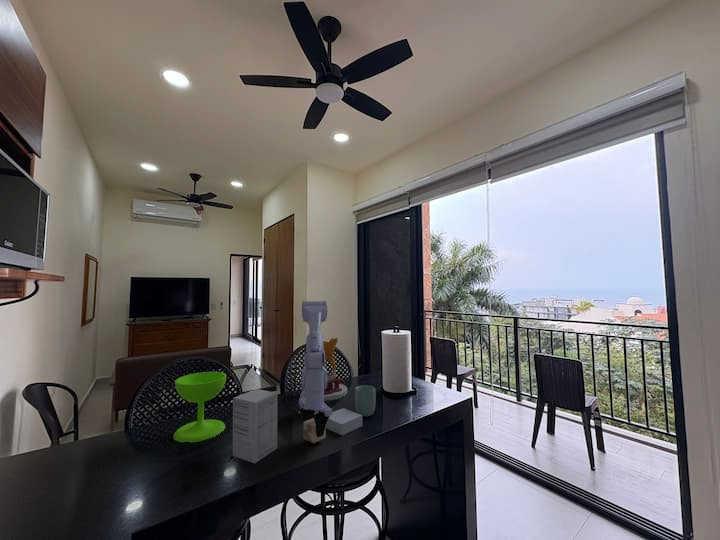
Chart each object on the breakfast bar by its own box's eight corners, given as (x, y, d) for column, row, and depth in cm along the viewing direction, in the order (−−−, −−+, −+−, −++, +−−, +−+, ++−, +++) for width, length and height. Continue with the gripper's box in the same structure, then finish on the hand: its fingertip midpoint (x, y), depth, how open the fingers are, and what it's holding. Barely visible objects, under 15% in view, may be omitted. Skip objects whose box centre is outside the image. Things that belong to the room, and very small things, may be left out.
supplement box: (256, 442, 100) (256, 388, 101) (278, 448, 96) (278, 392, 97) (231, 456, 92) (232, 397, 93) (254, 464, 87) (255, 402, 88)
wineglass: (204, 444, 98) (206, 386, 100) (161, 440, 102) (163, 383, 103) (234, 423, 114) (235, 372, 115) (196, 420, 117) (197, 371, 118)
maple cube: (303, 438, 100) (303, 421, 100) (315, 432, 103) (315, 417, 104) (313, 443, 96) (313, 426, 97) (325, 437, 100) (325, 421, 100)
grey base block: (322, 427, 111) (322, 416, 111) (343, 419, 118) (343, 408, 118) (341, 436, 104) (341, 424, 104) (362, 426, 111) (362, 415, 112)
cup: (367, 420, 116) (367, 392, 116) (351, 415, 120) (351, 388, 121) (379, 413, 122) (379, 387, 123) (363, 409, 127) (363, 384, 127)
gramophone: (331, 384, 161) (331, 334, 163) (356, 394, 146) (356, 339, 147) (295, 392, 148) (295, 339, 150) (318, 404, 132) (318, 344, 134)
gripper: (291, 387, 103) (290, 430, 102) (319, 398, 93) (319, 445, 92) (308, 382, 108) (308, 423, 107) (337, 392, 98) (337, 437, 97)
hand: (314, 433), depth 100 cm, fingers closed on maple cube, 5 cm apart
